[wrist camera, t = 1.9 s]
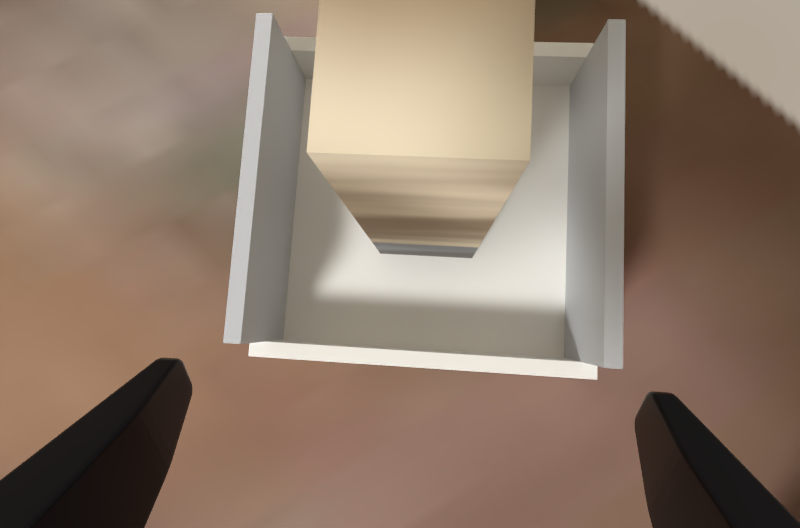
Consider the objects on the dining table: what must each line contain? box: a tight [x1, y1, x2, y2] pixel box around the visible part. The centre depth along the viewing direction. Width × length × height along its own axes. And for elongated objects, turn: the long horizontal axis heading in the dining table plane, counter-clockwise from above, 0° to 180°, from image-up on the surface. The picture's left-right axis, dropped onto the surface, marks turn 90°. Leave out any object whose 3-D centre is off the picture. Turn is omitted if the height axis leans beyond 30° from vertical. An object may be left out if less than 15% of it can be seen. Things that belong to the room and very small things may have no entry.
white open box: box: [223, 13, 626, 380], centre depth 20 cm, size 13×13×6 cm
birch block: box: [307, 0, 535, 258], centre depth 16 cm, size 4×4×13 cm
